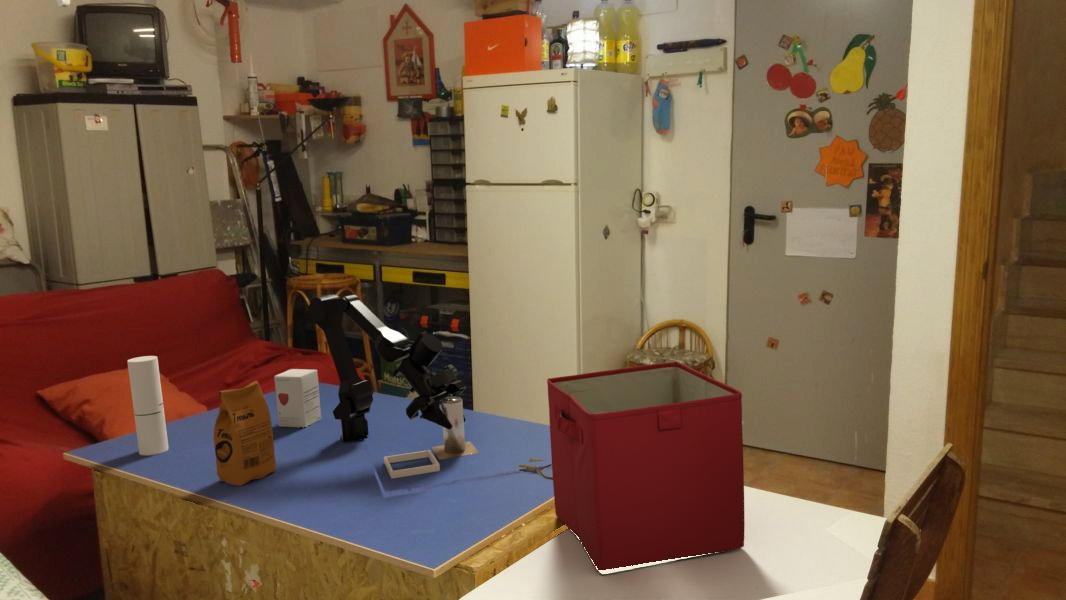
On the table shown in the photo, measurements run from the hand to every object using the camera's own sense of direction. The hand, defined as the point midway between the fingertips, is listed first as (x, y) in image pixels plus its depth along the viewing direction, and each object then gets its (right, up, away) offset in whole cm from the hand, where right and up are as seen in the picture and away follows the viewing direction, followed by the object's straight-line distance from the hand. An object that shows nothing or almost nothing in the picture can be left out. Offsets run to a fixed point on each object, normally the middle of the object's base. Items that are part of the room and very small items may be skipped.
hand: (457, 425), depth 203 cm
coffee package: (-49, -11, -6) cm, 51 cm away
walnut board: (-1, -7, +2) cm, 8 cm away
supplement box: (-49, -5, +36) cm, 61 cm away
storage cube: (+40, -13, -48) cm, 63 cm away
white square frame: (-10, -9, -8) cm, 16 cm away
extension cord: (+24, -9, -12) cm, 28 cm away
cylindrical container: (-82, -10, +17) cm, 84 cm away
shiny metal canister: (-1, -6, +2) cm, 7 cm away
